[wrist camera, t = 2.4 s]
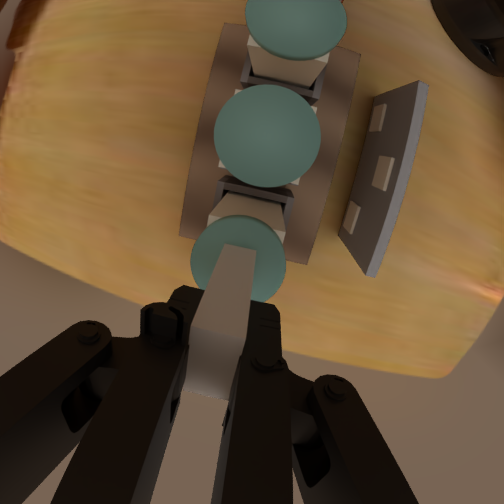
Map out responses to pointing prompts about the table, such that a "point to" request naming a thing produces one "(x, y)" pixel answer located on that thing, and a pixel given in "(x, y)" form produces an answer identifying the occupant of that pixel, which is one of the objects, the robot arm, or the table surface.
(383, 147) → the placard
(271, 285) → the plunger
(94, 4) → the table surface
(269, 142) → the plunger mid
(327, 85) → the console
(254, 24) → the plunger
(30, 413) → the robot arm
